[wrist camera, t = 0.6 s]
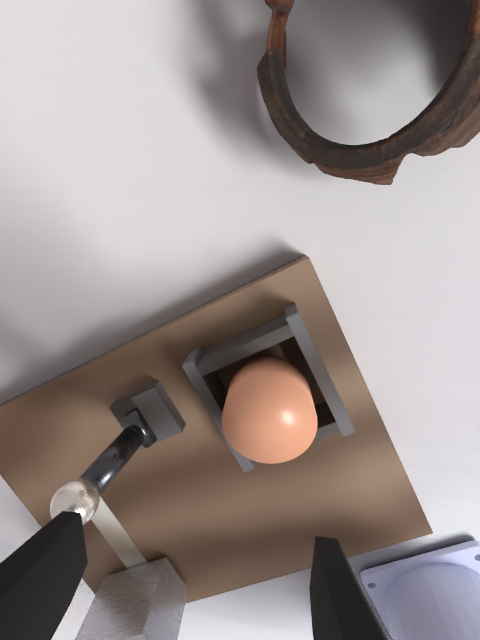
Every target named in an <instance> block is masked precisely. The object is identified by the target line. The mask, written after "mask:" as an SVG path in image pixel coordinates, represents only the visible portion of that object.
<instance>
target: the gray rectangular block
mask: <svg viewBox="0 0 480 640" xmlns="http://www.w3.org/2000/svg"><path fill="white" fill-rule="evenodd" d="M187 593H188V588H187V586H186V585H185V583H184V582H183V581H182V579H181V578H180V576H179V575H178V573H177V572H176V571H175V569H174V568H173V566H172V565H171V563H170V562H169V561H168V559H167V558H166V557H164V558H161V559H158V560H155V561H152V562H149V563H146V564H143V565H140V566H136V567H133V568H130V569H127V570H124V571H121V572H118V573H115V574H112V575H108V576H105V577H104V579H103V581H102V583H101V585H100V587H99V589H98V591H97V593H96V596H95V598H94V600H93V602H92V604H91V606H90V608H89V611H88V613H87V615H86V617H85V619H84V621H83V623H82V625H81V628H80V630H79V632H78V634H77V636H76V638H75V640H177V638H178V633H179V629H180V624H181V620H182V615H183V611H184V606H185V602H186V597H187Z"/></svg>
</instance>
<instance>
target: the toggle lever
mask: <svg viewBox="0 0 480 640" xmlns="http://www.w3.org/2000/svg"><path fill="white" fill-rule="evenodd" d="M124 418H125V419H126V421H127V422H128V424H129V425H130V426H129V427H127V428H125V429H124V430H123V431H122V432H121V433H120V434H119V435H118V436H117V437H116V438H115V439H114V440H113V442H112V443H111V444H110V445H109V446H108V447H107V448H106V449H105V450H104V451H103V452H102V453H101V454H100V455H99V457H98V458H97V459H96V460H95V461H94V462H93V463H92V464H91V465H90V466H89V467H88V468H87V469H86V470H85V472H84V473H83V474H82V475H81V476H80V477H79V478H76V479H72V480H70V481H68V482H66V483H64V484H63V485H62V486H61V487H60V488H59V489H58V490H57V491H56V492H55V494H54V496H53V498H52V500H51V504H50V514H51V517H52V519H53V518H55V517H56V516H57V515H58V514H59V513H61V512H62V511H69V512H79V513H81V516H82V524H83V525H84V524H86V523H87V522H88V521H89V520H90V519H91V518H92V517H93V516H94V514H95V513H96V511H97V509H98V506H99V501H100V495H101V494H102V493H103V492H104V491H105V489H106V488H107V487H108V486H109V484H110V483H111V482H112V481H113V479H114V478H115V477H116V476H117V475H118V473H119V472H120V471H121V470H122V468H123V467H124V466H125V465H126V463H127V462H128V461H129V460H130V459H131V457H132V456H133V455H134V454H135V452H136V451H137V450H138V449H139V447H140V446H141V445H143V447H144V448H148V447H150V446H151V445H153V444H154V443H155V442H156V441H157V437H156V435H155V434H154V432H153V431H152V429H151V427H150V426H149V424H148V423H147V421H146V420H145V418H144V417H143V415H142V413H141V412H140V410H139V409H138V408H134V409H132V410H130V411H129V412H127V413H126V414H125V416H124Z"/></svg>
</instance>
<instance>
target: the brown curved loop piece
mask: <svg viewBox="0 0 480 640" xmlns="http://www.w3.org/2000/svg"><path fill="white" fill-rule="evenodd" d="M265 3H266V4H267V5H268V6H269V7H270V8H271V9H273V11H272V19H271V21H270V24H269V29H268V36H267V46H266V52H265V54H264V55H263V57H262V59H261V61H260V63H259V65H258V68H257V72H258V80H259V84H260V89H261V93H262V96H263V100H264V102H265V104H266V106H267V109H268V112H269V115H270V117H271V120H272V122H273V123H274V125H275V127H276V128H277V130H278V132H279V134H280V135H281V136H282V137H283V138H284V139H285V140H286V141H287V142H288V143H289V145H290V146H291V147H292V148H293V150H294V151H295V152H296V153H297V154H298V155H299V156H300V157H301V158H302V159H303V160H304V161H305V162H307V163H309V164H310V163H314V164H315V165H316V166H317V167H318V168H319V170H321V171H322V172H323V173H325V174H329V175H332V176H335V177H340V178H345V179H353V180H358V181H363V182H369V183H373V184H379V185H391V184H392V182H393V178H394V176H395V175H396V173H397V170H398V167H399V165H400V164H401V161H402V160H403V158H404V157H405V156H406V155H407V154H409V153H414V154H417V155H420V156H433V155H437V154H440V153H442V152H444V151H446V150H447V149H449V148H459V147H463V146H465V145H466V144H467V143H468V142H469V141H470V140H471V139H473V138H474V137H475V136H476V135H477V134H478V133H479V132H480V0H473V1H472V10H471V16H470V20H469V25H468V29H467V34H466V42H465V45H464V47H463V49H462V52H461V54H460V56H459V59H458V61H457V63H456V65H455V67H454V69H453V71H452V73H451V75H450V76H449V78H448V80H447V81H446V83H445V84H444V86H443V88H442V89H441V90H440V92H439V93H438V94H437V96H436V97H435V98H434V99H433V100H432V102H431V103H430V104H429V105H428V106H427V107H426V108H425V109H424V110H423V111H422V112H421V113H420V114H419V115H418V116H417V117H416V118H415V119H414V120H412V121H411V122H410V123H409V124H407V125H406V126H404V127H403V128H402V129H400V130H399V131H397V132H396V133H394V134H392V135H391V136H390V137H389V138H386V139H383V140H379V141H377V142H373V143H369V144H363V145H345V144H339V143H335V142H332V141H329V140H327V139H325V138H323V137H321V136H320V135H318V134H317V133H316V132H314V131H313V130H312V129H311V128H310V127H309V126H308V125H307V123H305V121H304V120H303V119H302V118H301V116H300V115H299V113H298V112H297V110H296V108H295V106H294V104H293V102H292V99H291V97H290V93H289V90H288V86H287V82H286V77H285V68H286V31H285V27H286V22H287V18H288V14H289V12H290V10H291V8H292V6H293V3H294V0H265Z"/></svg>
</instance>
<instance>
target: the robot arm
mask: <svg viewBox="0 0 480 640" xmlns="http://www.w3.org/2000/svg"><path fill="white" fill-rule="evenodd" d="M87 563H88V560H87V553H86V546H85V538H84V531H83V524H82V516H81V513H79V512H69V511H62V512H61V513H59V514H58V515H57V516H56V517H55V518H53V519H52V520H51V521H50V522H49V523H47V524H46V525H45V526H44V527H43V528H41V529H40V530H39V531H38V532H37V533H36V534H34V535H33V536H32V537H31V538H30V539H29V540H27V541H26V542H25V543H24V544H23V545H22V546H20V547H19V548H18V549H17V550H16V551H15V552H13V553H12V554H11V555H10V556H9V557H7V558H6V559H5V560H4V561H3V562H1V563H0V640H51V639H52V637H53V635H54V633H55V631H56V629H57V628H58V626H59V624H60V622H61V620H62V618H63V616H64V615H65V613H66V611H67V609H68V607H69V605H70V603H71V601H72V599H73V596H74V594H75V592H76V590H77V587H78V585H79V583H80V580H81V578H82V575H83V573H84V571H85V568H86V566H87ZM360 577H361V581H362V583H363V585H364V587H365V589H366V591H367V592H368V594H369V596H370V598H371V600H372V602H373V604H374V606H375V607H376V609H377V611H378V613H379V615H380V617H381V619H382V620H383V622H384V624H385V626H386V628H387V630H388V632H389V633H390V635H391V637H392V639H393V640H480V542H478V541H474V540H473V541H468V542H464V543H461V544H457V545H453V546H450V547H446V548H442V549H439V550H435V551H431V552H428V553H424V554H420V555H417V556H413V557H409V558H406V559H402V560H398V561H395V562H391V563H387V564H384V565H380V566H376V567H373V568H369V569H365V570H363V571H362V572H361V573H360ZM310 601H311V616H312V629H313V638H314V640H388V639H387V637H386V636H385V634H384V632H383V630H382V628H381V626H380V624H379V622H378V621H377V619H376V617H375V615H374V613H373V611H372V609H371V607H370V606H369V604H368V602H367V600H366V598H365V596H364V594H363V592H362V590H361V588H360V586H359V584H358V581H357V579H356V577H355V575H354V573H353V571H352V569H351V567H350V564H349V562H348V560H347V558H346V555H345V553H344V551H343V548H342V546H341V543H340V541H339V540H338V539H337V538H329V537H319V536H315V544H314V553H313V562H312V571H311V579H310Z"/></svg>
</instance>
